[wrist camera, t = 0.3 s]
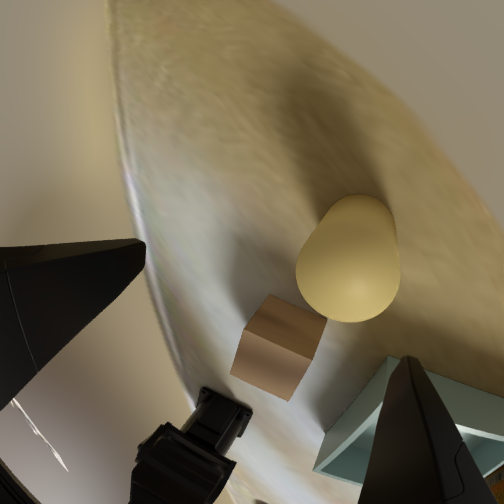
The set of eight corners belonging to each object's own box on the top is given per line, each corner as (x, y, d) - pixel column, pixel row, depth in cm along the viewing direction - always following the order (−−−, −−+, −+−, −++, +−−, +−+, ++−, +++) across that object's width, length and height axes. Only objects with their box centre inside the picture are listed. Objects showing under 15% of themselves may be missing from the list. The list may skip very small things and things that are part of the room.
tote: (445, 469, 24) (442, 502, 20) (325, 434, 28) (312, 470, 24) (521, 404, 18) (530, 442, 13) (388, 355, 22) (383, 400, 18)
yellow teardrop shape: (378, 276, 20) (372, 336, 14) (313, 249, 21) (283, 298, 16) (407, 212, 18) (418, 251, 12) (336, 182, 19) (314, 207, 13)
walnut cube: (306, 360, 26) (288, 401, 21) (254, 337, 27) (229, 373, 23) (327, 319, 23) (312, 360, 19) (269, 293, 24) (243, 328, 20)
